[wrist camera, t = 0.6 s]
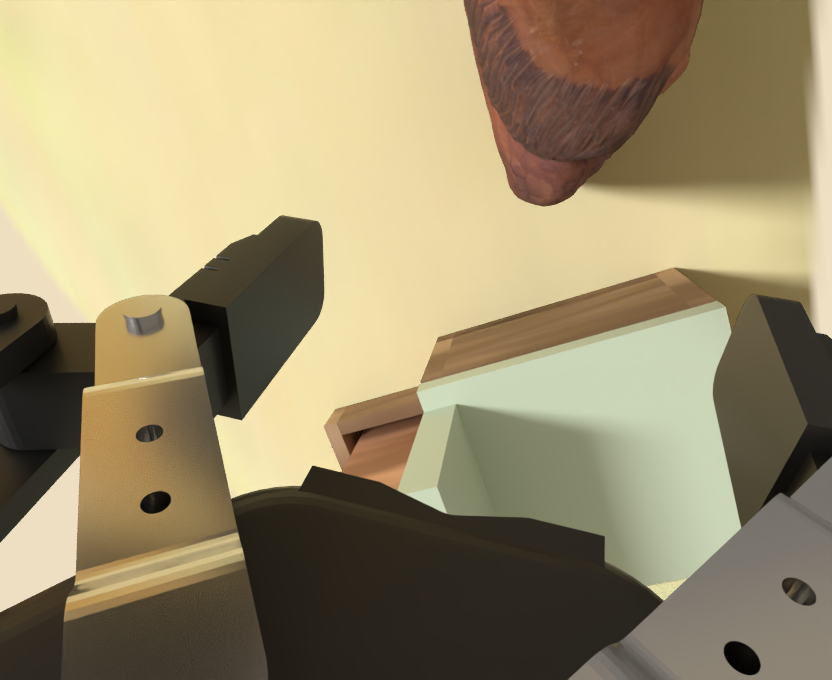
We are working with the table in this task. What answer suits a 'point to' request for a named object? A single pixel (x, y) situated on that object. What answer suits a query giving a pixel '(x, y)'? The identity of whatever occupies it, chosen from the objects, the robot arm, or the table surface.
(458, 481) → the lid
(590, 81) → the wooden figurine
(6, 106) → the table surface
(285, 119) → the table surface
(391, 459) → the wooden peg
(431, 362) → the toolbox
